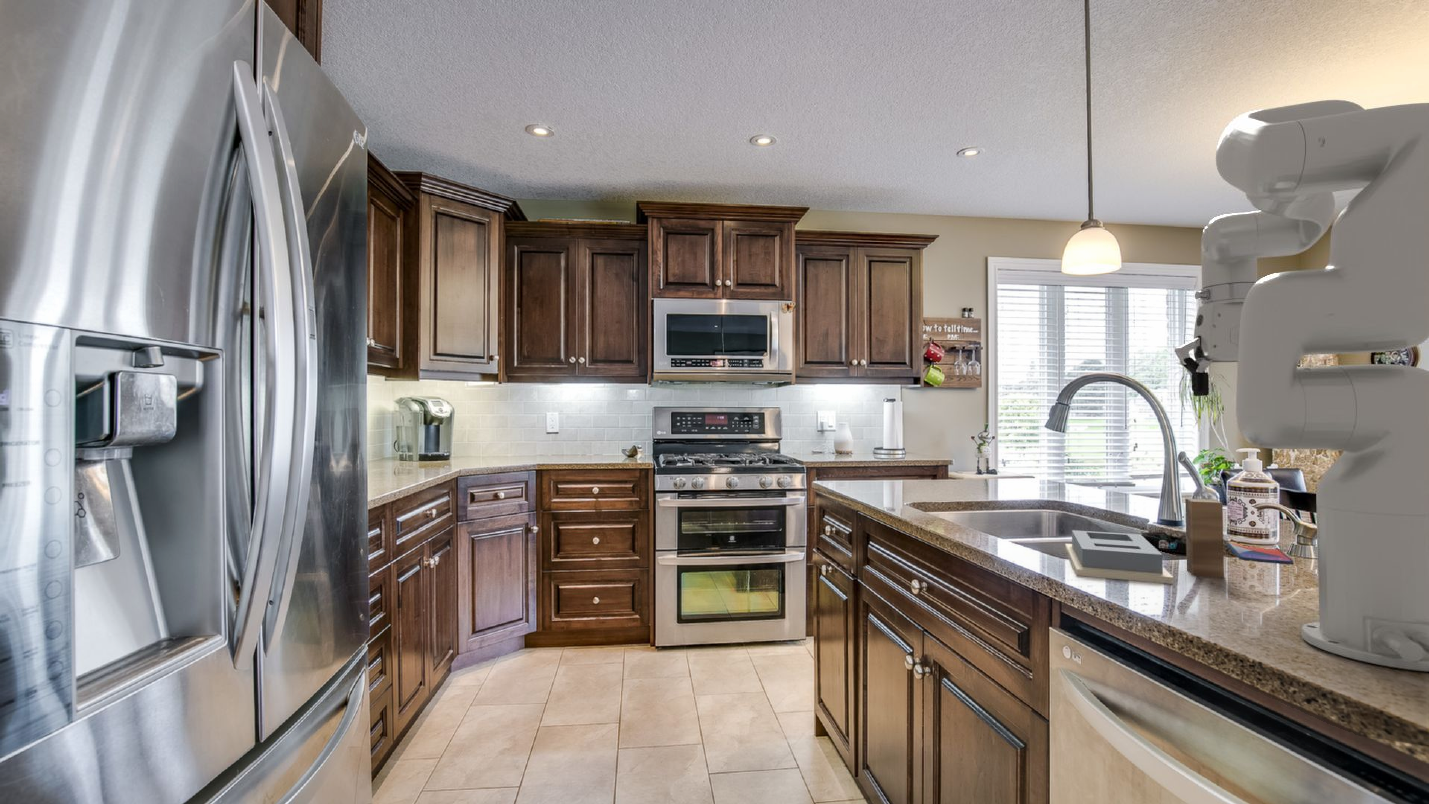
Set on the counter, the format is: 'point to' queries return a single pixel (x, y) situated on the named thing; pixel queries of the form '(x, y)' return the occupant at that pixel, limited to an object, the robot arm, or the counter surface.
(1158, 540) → the toy car
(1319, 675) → the counter surface
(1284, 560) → the smartphone
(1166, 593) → the counter surface
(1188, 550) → the block
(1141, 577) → the bore block
